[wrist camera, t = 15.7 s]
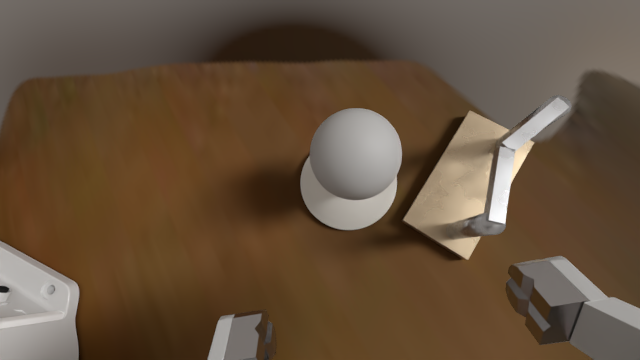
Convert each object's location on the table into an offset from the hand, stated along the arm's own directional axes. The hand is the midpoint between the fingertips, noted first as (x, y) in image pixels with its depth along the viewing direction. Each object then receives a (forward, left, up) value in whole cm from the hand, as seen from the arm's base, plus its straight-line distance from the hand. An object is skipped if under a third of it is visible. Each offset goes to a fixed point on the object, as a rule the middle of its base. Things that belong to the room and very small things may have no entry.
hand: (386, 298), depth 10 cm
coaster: (-6, +6, -17) cm, 19 cm away
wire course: (+3, +11, -17) cm, 21 cm away
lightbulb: (-5, +6, -17) cm, 18 cm away
